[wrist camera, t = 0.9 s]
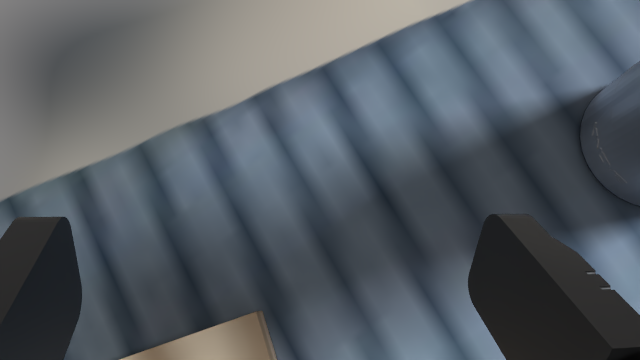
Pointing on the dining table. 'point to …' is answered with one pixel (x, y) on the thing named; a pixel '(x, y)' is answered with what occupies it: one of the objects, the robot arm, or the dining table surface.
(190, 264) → the dining table surface
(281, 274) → the dining table surface
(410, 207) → the dining table surface
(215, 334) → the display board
